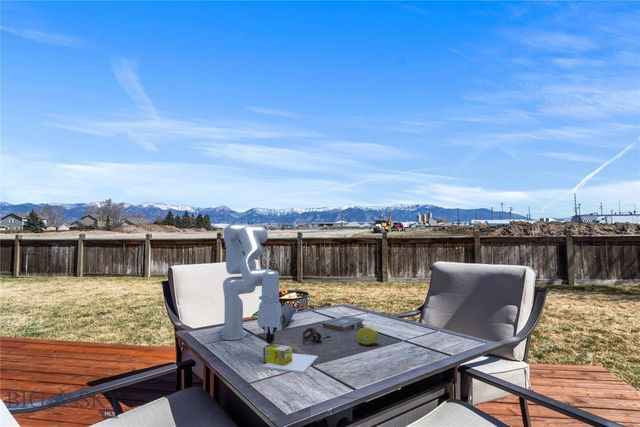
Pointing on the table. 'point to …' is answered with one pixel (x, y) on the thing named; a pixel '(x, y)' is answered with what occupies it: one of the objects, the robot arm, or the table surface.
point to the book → (343, 324)
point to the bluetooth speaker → (287, 314)
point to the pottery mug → (312, 334)
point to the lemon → (367, 336)
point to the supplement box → (278, 354)
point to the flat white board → (294, 363)
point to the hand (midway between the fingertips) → (270, 342)
